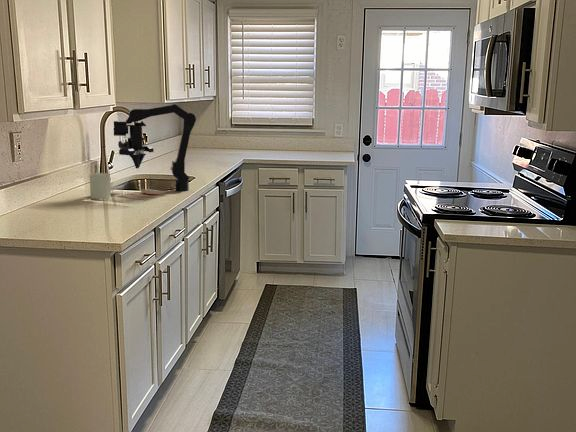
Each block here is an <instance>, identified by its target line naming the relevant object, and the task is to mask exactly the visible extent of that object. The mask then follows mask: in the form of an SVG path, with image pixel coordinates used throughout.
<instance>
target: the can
mask: <svg viewBox="0 0 576 432" xmlns="http://www.w3.org/2000/svg"><path fill="white" fill-rule="evenodd" d="M88 176H89V177H88V178H89V189H90V201H94V202H106V199H108V198H111V197H112V194H111V193H112V191H111V189H112V188H111V174H110V173H108V172H95V173H94V172H93V173H89V174H88ZM104 199H105V200H104Z"/></svg>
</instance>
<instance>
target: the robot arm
mask: <svg viewBox="0 0 576 432" xmlns="http://www.w3.org/2000/svg"><path fill="white" fill-rule="evenodd" d="M173 113H174V114H175V115H177V116H178V117H179V118H181V119H182V122H181V123H182V124H181V125H182V131H181V136H180V140H179V145H178V150H177V155H176V158H175V161H174V160H172V161H171V167H170V170H171V174H172V175H173V177H174V178H175V179H176V180H175V192H180V193H181V192H189V191H190V190H189V189H190V187H189V186H190V183H189V182H190V181H189V180H190V177H189V175H188V174H187V173H186V172H185V171H186V170H185V167H186V166H185V164H186V161H185V160H186V155H187V150H188V147H189V146H188V145H189V142H190V141H189V140H190V137H191V132H192V131H193V128H194V127H195V124H196V121H197V117H196V116H195V114H194V113H192V112H187V111H186V110H184V109H183V108H181V107H179V106H178V104H175V103H172V104H169V105H163V106H158V107H153V108H151V107H150V108H132V109H130V111H129V112H128V117H127V119H126V120H125V121H117V120H114V121H113V136H115V137H119V136H120V137H121V136H122V137H123V136H125V137H126V136H127V134H129V137H128V138H127V141H125V140H120V141H118V148H119V150H118V155H121V156H129V157H131V160H132V162H133V163H134V167H135V169H140V167H141V164H142V162H143V160H144V158H145V156H146V155H147V153H145V152H148V153H154V150H155V149H154V147H153V146H152V145H144V144H143V143H144V141H145V137H143V127H147V125H146V123H145V122H144V121H143V120H145V119H148V118H150V117H156V116H162V115H167V114H173ZM139 121H140V122H139Z"/></svg>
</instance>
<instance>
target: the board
mask: <svg viewBox="0 0 576 432" xmlns="http://www.w3.org/2000/svg"><path fill="white" fill-rule="evenodd" d="M166 196H167V195H165V194H148V193H141V191H140V192H138V191H134V192H130V193H125V194H121V195H117V196H115V198H121V199H130V200H137V201H146V202H147V201H152V200H155V199H158V198H163V197H166Z"/></svg>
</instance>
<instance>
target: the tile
mask: <svg viewBox="0 0 576 432" xmlns="http://www.w3.org/2000/svg"><path fill="white" fill-rule="evenodd" d="M140 192H141V193H148V194H158V195H163V194H166V193H167V191H165V190H159V189H158V190H157V189H143V188H141V190H140Z"/></svg>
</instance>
